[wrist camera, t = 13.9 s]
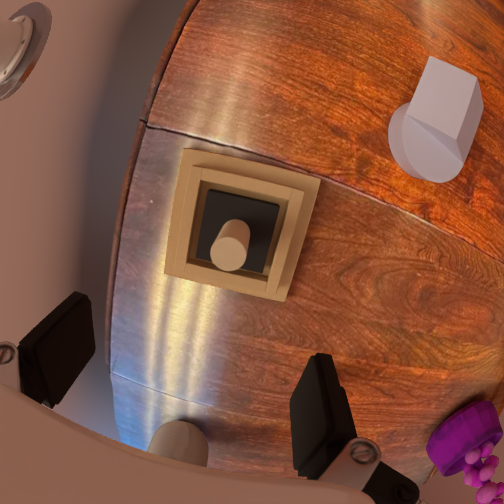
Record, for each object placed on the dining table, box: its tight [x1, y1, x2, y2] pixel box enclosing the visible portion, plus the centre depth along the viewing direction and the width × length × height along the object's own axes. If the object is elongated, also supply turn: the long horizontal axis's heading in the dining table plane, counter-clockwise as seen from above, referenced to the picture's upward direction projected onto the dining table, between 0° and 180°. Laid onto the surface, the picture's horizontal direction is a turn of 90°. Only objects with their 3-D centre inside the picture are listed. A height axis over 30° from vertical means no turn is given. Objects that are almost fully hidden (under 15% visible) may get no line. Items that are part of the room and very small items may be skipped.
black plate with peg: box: [195, 189, 280, 273], centre depth 25 cm, size 7×7×8 cm
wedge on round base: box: [388, 56, 484, 183], centre depth 21 cm, size 9×7×13 cm
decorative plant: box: [426, 400, 504, 504], centre depth 28 cm, size 19×18×30 cm
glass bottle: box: [147, 421, 208, 467], centre depth 29 cm, size 10×10×28 cm
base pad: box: [164, 148, 321, 302], centre depth 28 cm, size 14×14×2 cm
